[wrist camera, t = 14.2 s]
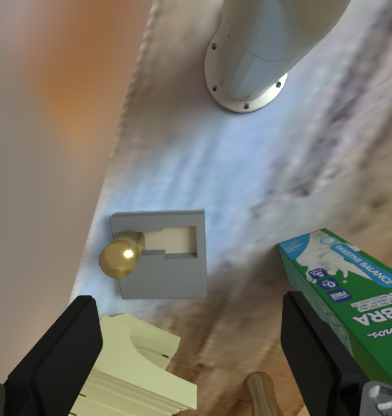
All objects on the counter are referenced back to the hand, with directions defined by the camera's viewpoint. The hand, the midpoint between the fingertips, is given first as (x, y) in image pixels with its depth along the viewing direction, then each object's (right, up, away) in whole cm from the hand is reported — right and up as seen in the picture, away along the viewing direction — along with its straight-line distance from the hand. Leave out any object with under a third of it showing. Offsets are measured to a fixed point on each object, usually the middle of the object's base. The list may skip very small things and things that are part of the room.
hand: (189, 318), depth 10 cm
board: (-6, -3, +30) cm, 31 cm away
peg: (-11, 0, +29) cm, 30 cm away
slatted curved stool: (-13, -25, +36) cm, 46 cm away
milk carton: (+21, -4, +30) cm, 37 cm away
